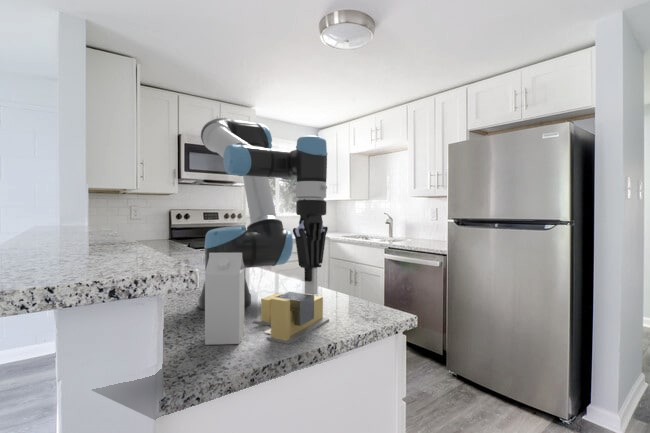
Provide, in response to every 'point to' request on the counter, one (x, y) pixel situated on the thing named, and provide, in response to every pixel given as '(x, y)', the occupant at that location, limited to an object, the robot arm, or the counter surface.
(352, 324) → the counter surface
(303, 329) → the rail
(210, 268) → the milk carton
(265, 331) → the label
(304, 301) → the grey block
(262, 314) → the stub
